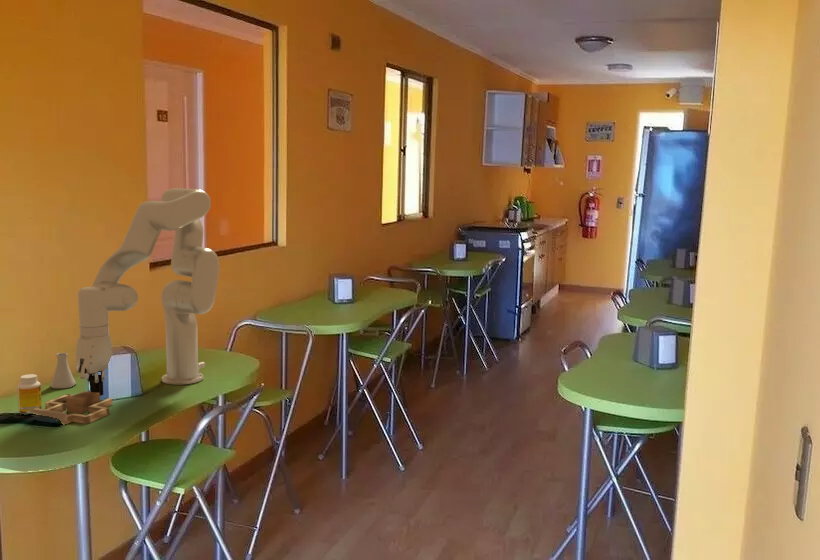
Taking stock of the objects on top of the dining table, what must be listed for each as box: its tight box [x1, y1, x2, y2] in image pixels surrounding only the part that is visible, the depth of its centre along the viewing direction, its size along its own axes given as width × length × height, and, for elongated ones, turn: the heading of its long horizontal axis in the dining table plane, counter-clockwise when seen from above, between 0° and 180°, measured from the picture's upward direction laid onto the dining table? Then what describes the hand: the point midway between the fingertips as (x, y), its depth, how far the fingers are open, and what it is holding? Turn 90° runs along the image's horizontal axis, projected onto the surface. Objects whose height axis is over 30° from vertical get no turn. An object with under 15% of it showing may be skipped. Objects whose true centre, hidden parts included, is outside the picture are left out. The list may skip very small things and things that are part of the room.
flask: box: [49, 352, 77, 389], centre depth 223 cm, size 7×7×10 cm
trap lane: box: [33, 393, 114, 426], centre depth 199 cm, size 18×19×3 cm
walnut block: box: [66, 390, 101, 415], centre depth 202 cm, size 7×5×4 cm
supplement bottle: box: [16, 373, 43, 414], centre depth 198 cm, size 6×6×10 cm
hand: (96, 395), depth 207 cm, fingers closed
